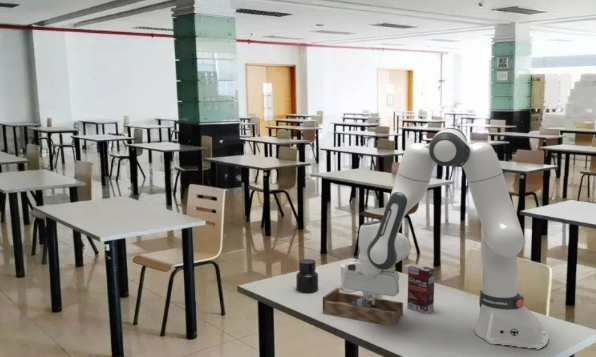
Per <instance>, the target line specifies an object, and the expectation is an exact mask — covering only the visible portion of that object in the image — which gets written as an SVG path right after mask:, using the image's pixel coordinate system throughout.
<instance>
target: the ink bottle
mask: <svg viewBox="0 0 596 357" xmlns="http://www.w3.org/2000/svg"><path fill="white" fill-rule="evenodd" d="M295 277H296V281H295V282H296V291H297V292H298V293H303V294H308V293H309V294H310V293H312V294H313V293H315V292H317V291H318V290H319V274H318V272H317V271H316V260H315V259H311V258H303V259H300V260H298V272H296V276H295Z"/></svg>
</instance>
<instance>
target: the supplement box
mask: <svg viewBox="0 0 596 357" xmlns="http://www.w3.org/2000/svg"><path fill="white" fill-rule="evenodd" d="M407 268H408V271H407V273H408V274H407V276H408V278H407V306H406V308H407V309H409V310H410V309H411V310H414V311H417V312H420V313H421V312H422V313H425V314H429V313H431V312H433V311H434V306H435V305H434V302H435V301H434V300H435V299H434V298H435V273H436V270H435V268H432V267H428V266H423V265H421V264H412V265H410V266H408V267H407Z"/></svg>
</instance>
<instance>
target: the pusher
mask: <svg viewBox="0 0 596 357" xmlns="http://www.w3.org/2000/svg"><path fill="white" fill-rule="evenodd" d="M361 296H362V297H361V298H360V299H358V300H357V302H354V301H352V302H351V305H353V306H358V307H364V308H370V307H371V304H366V299H365V297H364V295H363V294H362V295H361ZM368 296H369V298H371V293H368Z"/></svg>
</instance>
